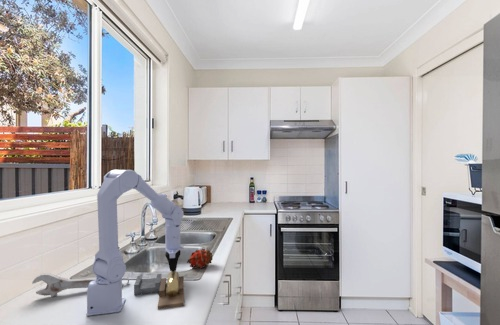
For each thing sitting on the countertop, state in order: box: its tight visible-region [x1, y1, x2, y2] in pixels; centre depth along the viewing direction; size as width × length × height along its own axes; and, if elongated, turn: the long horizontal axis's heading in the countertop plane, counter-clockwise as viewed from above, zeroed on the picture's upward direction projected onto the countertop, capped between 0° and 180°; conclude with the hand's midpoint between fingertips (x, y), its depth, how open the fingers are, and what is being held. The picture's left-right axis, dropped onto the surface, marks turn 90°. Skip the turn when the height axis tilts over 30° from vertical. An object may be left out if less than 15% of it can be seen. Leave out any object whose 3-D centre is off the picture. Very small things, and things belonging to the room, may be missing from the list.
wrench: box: [31, 272, 130, 298], centre depth 98 cm, size 8×2×30 cm
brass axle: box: [166, 270, 180, 297], centre depth 97 cm, size 12×4×4 cm, turn 14°
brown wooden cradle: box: [157, 276, 185, 310], centre depth 94 cm, size 8×16×3 cm, turn 14°
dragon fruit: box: [186, 247, 214, 269], centre depth 119 cm, size 8×8×12 cm
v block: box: [133, 273, 162, 296], centre depth 99 cm, size 8×8×4 cm
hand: (173, 270), depth 107 cm, fingers closed
